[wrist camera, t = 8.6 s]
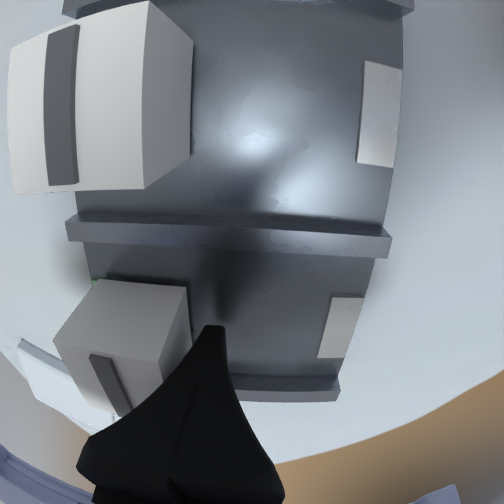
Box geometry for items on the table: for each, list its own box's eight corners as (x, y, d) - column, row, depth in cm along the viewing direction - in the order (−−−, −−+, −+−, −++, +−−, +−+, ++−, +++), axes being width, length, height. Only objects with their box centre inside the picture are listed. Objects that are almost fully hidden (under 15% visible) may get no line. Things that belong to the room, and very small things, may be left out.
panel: (371, -107, 3) (384, -126, 1) (330, 371, 16) (335, 401, 14) (126, -105, 3) (111, -123, 1) (127, 355, 16) (115, 382, 14)
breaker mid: (193, 41, 7) (145, -3, 3) (189, 157, 9) (140, 191, 5) (87, 58, 7) (5, 48, 4) (87, 162, 9) (9, 197, 5)
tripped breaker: (186, 287, 11) (155, 367, 8) (193, 356, 13) (175, 430, 9) (99, 278, 11) (49, 343, 8) (118, 345, 13) (87, 409, 9)
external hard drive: (25, 334, 17) (168, 398, 18) (42, 388, 20) (157, 438, 22) (15, 348, 15) (163, 417, 17) (35, 400, 19) (154, 452, 20)
